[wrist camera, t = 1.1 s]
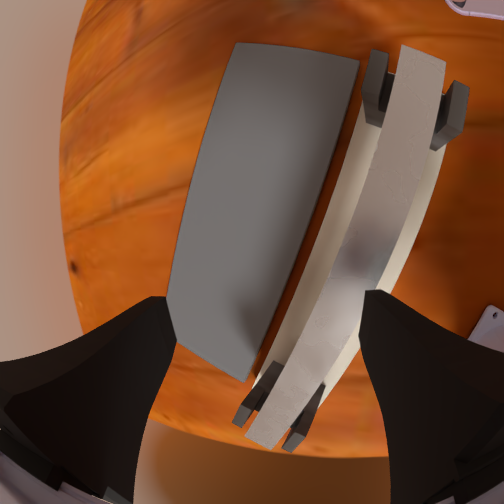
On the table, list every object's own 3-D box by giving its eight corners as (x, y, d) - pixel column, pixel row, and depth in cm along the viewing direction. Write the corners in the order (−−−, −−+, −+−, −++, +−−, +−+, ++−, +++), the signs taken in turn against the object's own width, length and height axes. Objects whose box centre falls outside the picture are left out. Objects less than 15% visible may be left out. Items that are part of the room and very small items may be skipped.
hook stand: (451, 105, 13) (482, 64, 6) (314, 409, 22) (288, 465, 15) (372, 73, 14) (365, 19, 8) (257, 381, 24) (219, 429, 17)
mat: (360, 64, 15) (359, 60, 14) (246, 379, 24) (243, 382, 23) (239, 45, 18) (236, 42, 17) (165, 328, 27) (161, 330, 27)
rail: (438, 79, 9) (446, 61, 7) (281, 430, 18) (271, 450, 16) (399, 64, 10) (401, 44, 8) (256, 417, 18) (244, 436, 16)
